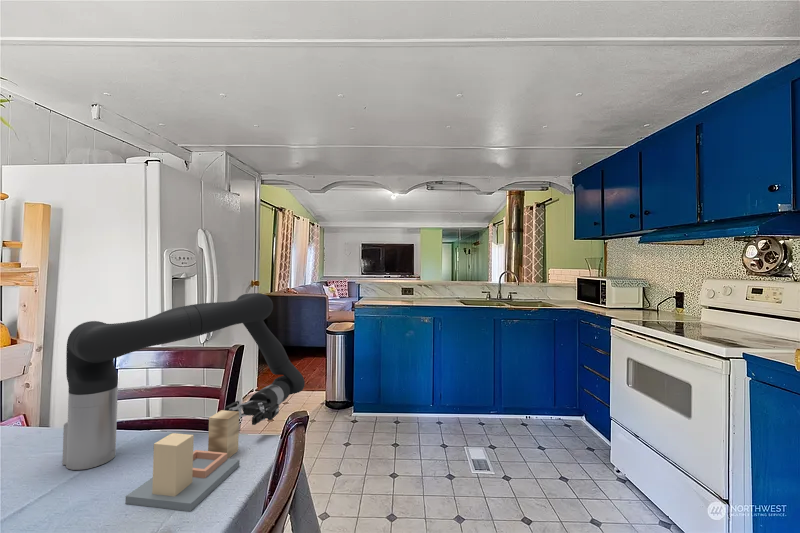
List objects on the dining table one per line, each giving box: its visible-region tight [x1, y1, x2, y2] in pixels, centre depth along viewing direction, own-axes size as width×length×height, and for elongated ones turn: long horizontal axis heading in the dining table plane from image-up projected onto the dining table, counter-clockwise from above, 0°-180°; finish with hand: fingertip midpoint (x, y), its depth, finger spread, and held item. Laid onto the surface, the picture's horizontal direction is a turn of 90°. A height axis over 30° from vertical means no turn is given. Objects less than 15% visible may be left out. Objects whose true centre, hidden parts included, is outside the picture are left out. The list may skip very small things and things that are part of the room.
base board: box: [125, 432, 241, 512], centre depth 81 cm, size 14×17×12 cm
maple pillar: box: [207, 409, 240, 459], centre depth 94 cm, size 5×5×10 cm
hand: (238, 420), depth 101 cm, fingers open, 8 cm apart
